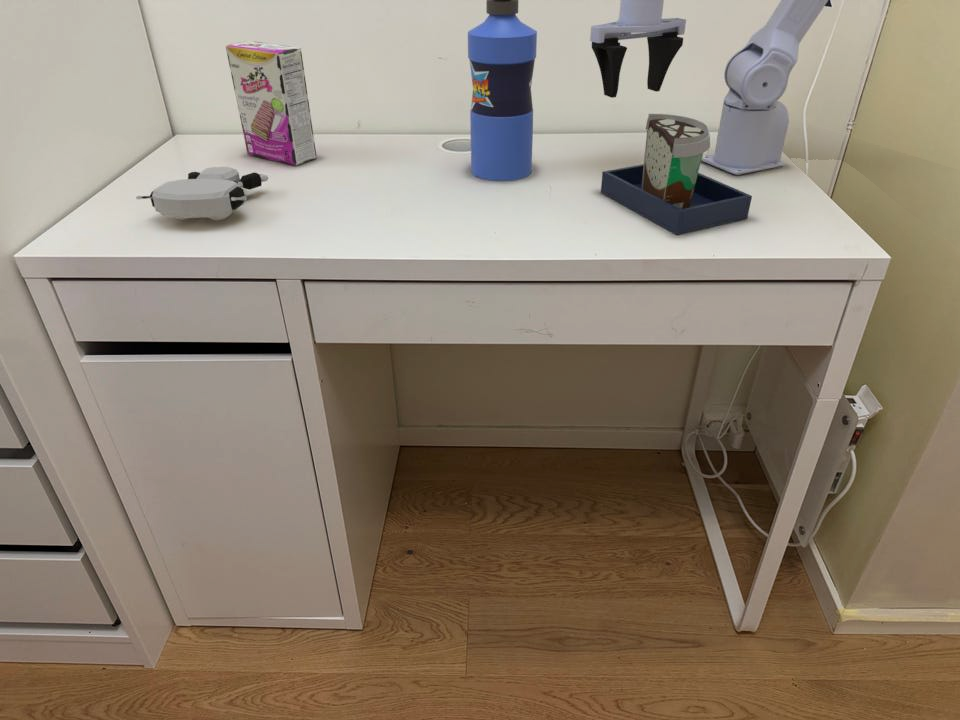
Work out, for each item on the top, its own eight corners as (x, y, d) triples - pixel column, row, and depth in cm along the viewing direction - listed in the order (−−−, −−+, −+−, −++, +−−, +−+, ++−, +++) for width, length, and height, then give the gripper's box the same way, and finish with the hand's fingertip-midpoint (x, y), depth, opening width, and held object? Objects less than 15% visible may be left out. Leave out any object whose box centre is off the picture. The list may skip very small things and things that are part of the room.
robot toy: (192, 194, 98) (140, 228, 85) (186, 162, 96) (131, 192, 83) (276, 195, 98) (236, 230, 85) (271, 163, 95) (230, 194, 82)
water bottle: (514, 157, 108) (517, -24, 94) (544, 175, 101) (552, -19, 87) (460, 166, 105) (455, -21, 91) (487, 185, 98) (485, -14, 84)
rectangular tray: (665, 180, 99) (668, 159, 97) (747, 218, 87) (752, 195, 85) (600, 192, 95) (602, 171, 93) (676, 235, 83) (680, 211, 81)
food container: (713, 220, 85) (728, 138, 80) (664, 221, 85) (676, 140, 79) (682, 185, 95) (694, 111, 90) (638, 187, 95) (647, 112, 90)
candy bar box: (245, 156, 110) (222, 45, 101) (268, 147, 114) (249, 39, 105) (295, 167, 105) (277, 51, 96) (318, 158, 109) (302, 46, 100)
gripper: (668, -20, 97) (655, 82, 105) (580, -14, 92) (574, 92, 100) (701, -15, 92) (686, 91, 99) (611, -9, 87) (601, 103, 94)
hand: (632, 93), depth 99 cm, fingers open, 7 cm apart
